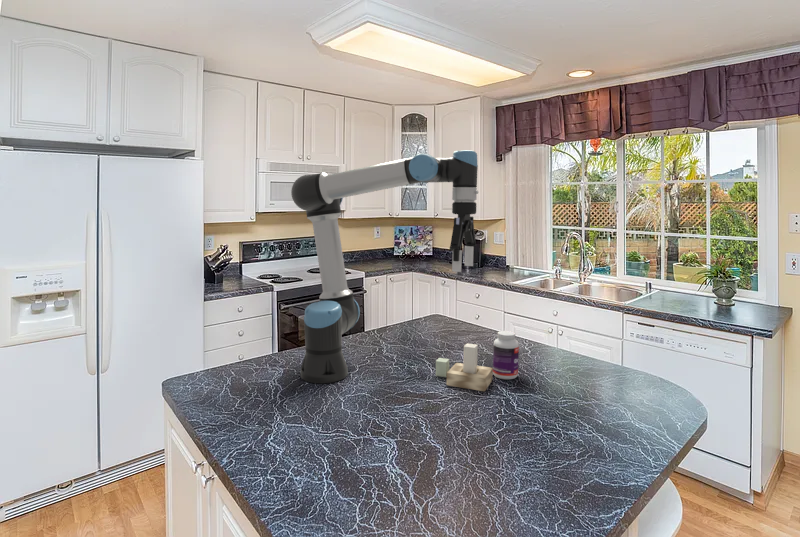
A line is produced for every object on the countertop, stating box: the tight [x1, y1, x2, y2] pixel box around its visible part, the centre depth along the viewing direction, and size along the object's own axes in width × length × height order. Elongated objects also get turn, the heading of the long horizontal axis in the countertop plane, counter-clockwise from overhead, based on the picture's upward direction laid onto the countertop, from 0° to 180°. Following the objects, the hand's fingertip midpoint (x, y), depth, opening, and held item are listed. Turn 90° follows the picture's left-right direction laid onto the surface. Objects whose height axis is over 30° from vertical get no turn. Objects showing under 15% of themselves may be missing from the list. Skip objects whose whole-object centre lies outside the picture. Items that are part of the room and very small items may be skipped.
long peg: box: [462, 342, 479, 374], centre depth 149 cm, size 4×4×12 cm
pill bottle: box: [492, 330, 520, 380], centre depth 155 cm, size 8×8×14 cm
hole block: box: [446, 362, 494, 392], centre depth 150 cm, size 12×10×4 cm
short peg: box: [435, 357, 450, 378], centre depth 157 cm, size 4×4×5 cm
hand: (462, 268), depth 154 cm, fingers open, 13 cm apart
